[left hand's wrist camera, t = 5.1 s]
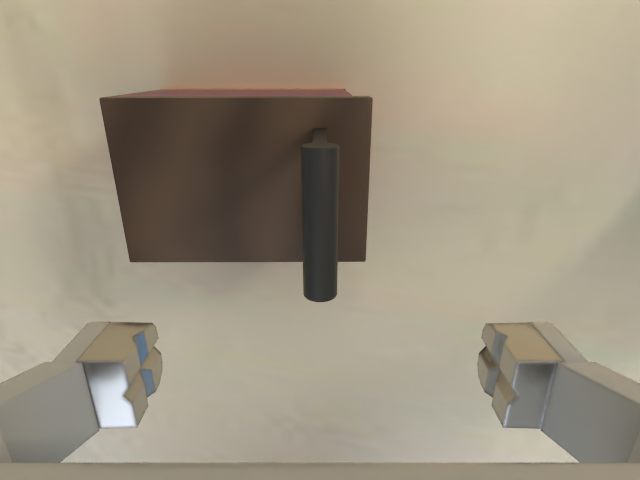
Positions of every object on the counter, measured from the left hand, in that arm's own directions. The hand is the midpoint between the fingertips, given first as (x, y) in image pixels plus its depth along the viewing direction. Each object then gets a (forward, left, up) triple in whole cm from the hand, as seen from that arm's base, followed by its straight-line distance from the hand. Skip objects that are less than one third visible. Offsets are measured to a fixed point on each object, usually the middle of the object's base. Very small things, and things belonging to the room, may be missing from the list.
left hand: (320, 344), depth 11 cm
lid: (+2, -4, -17) cm, 17 cm away
